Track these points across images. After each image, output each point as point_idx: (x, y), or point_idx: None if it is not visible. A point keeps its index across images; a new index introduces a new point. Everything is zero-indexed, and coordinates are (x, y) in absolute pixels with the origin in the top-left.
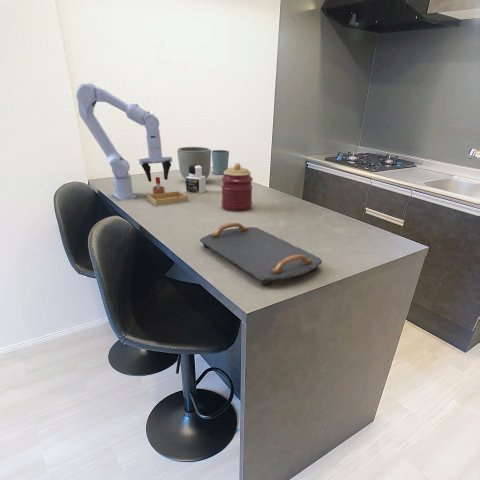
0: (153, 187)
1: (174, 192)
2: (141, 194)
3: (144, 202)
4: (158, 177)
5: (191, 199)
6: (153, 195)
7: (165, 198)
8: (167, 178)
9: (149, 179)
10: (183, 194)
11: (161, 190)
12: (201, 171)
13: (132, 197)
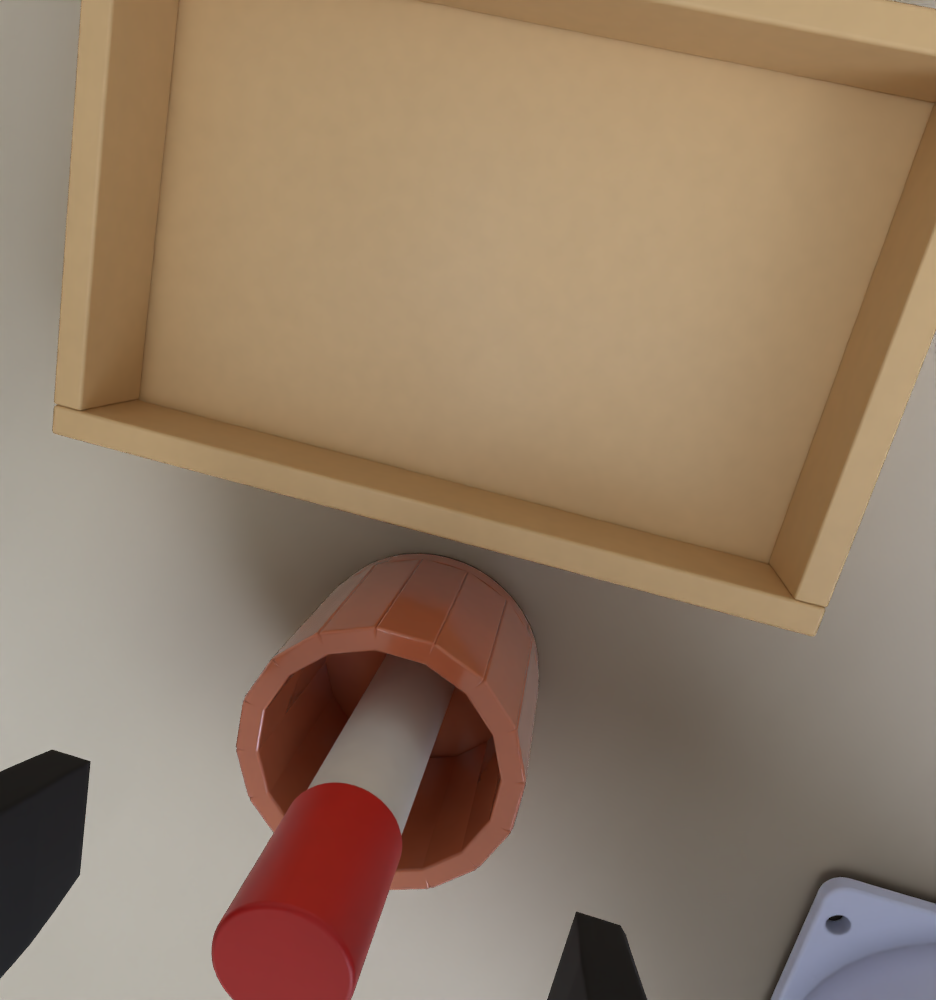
0: (479, 838)
1: (167, 431)
2: None
3: (918, 540)
4: (256, 946)
5: (19, 63)
6: (679, 562)
7: (446, 422)
8: (13, 767)
9: (641, 988)
10: (98, 85)
11: (402, 611)
12: None
13: (920, 910)
